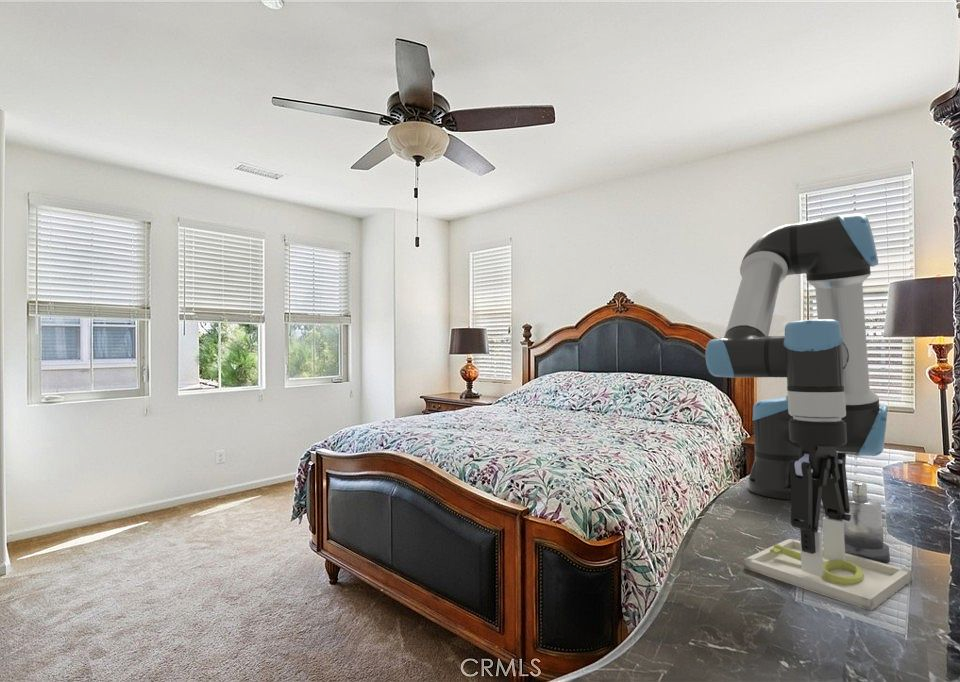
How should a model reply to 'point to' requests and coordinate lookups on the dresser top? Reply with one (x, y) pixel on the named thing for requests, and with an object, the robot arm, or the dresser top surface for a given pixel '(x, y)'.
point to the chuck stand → (865, 527)
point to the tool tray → (863, 594)
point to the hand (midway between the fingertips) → (824, 566)
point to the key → (827, 567)
